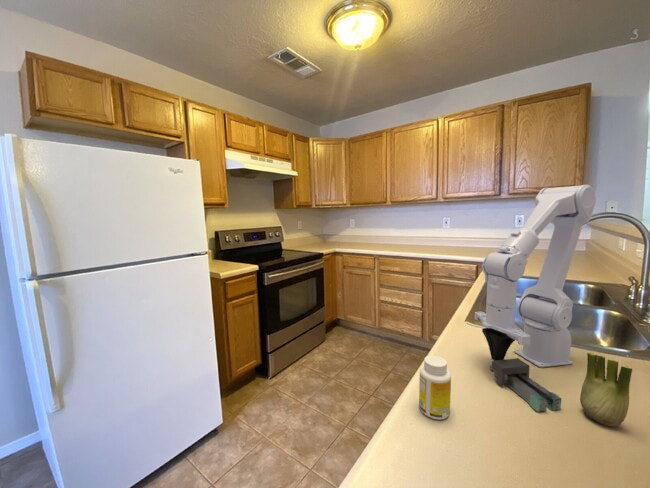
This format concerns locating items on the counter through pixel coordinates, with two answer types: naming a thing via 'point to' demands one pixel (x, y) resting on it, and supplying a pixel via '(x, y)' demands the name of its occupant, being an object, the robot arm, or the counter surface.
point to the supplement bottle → (435, 388)
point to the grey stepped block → (509, 368)
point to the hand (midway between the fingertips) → (497, 359)
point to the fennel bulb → (605, 390)
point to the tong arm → (525, 392)
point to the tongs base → (538, 390)
